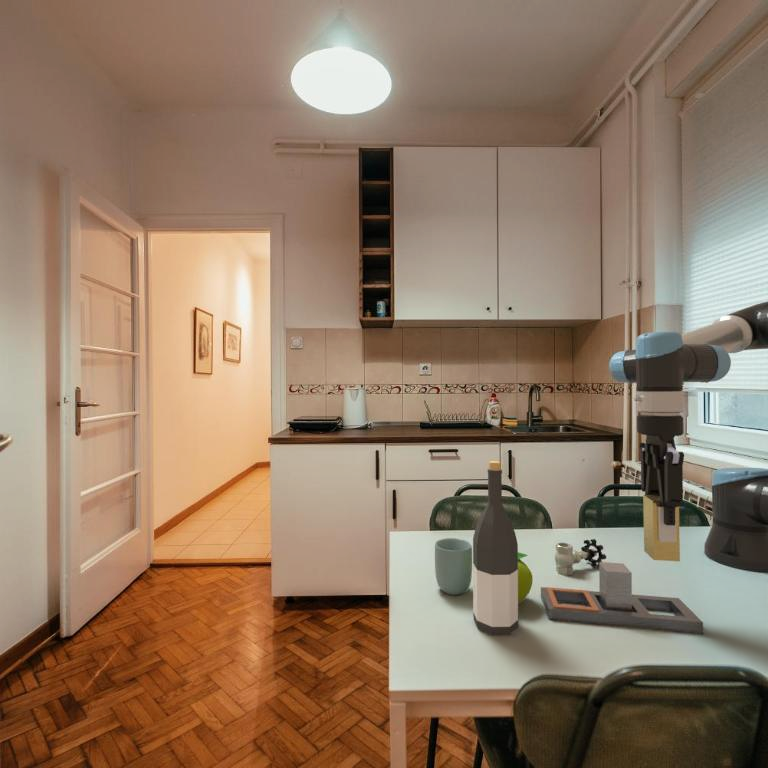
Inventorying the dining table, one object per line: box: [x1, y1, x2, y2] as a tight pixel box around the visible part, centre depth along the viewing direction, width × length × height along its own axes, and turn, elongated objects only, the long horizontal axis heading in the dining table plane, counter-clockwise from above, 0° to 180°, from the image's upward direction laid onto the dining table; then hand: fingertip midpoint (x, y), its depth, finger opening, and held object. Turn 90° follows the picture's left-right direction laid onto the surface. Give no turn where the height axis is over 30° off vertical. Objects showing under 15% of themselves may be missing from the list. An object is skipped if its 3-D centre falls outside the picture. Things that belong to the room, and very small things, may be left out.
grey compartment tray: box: [540, 586, 704, 634], centre depth 84 cm, size 26×9×2 cm, turn 79°
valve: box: [554, 538, 607, 577], centre depth 104 cm, size 7×7×12 cm
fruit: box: [518, 552, 533, 604], centre depth 89 cm, size 9×9×10 cm
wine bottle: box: [472, 460, 519, 636], centre depth 80 cm, size 8×8×30 cm
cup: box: [434, 537, 473, 596], centre depth 94 cm, size 8×8×10 cm
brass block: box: [642, 494, 681, 562], centre depth 83 cm, size 4×4×11 cm
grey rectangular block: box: [598, 561, 633, 612], centre depth 84 cm, size 4×4×9 cm
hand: (661, 536), depth 83 cm, fingers closed on brass block, 4 cm apart
